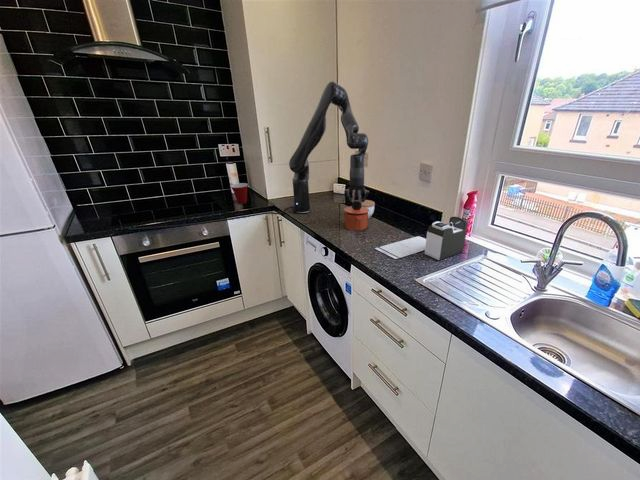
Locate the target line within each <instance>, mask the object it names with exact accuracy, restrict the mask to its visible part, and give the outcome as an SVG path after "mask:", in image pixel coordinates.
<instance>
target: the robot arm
mask: <svg viewBox="0 0 640 480" xmlns="http://www.w3.org/2000/svg"><path fill="white" fill-rule="evenodd" d="M331 104H332V105H334V106H335V107H337V108H338V109H339V111H340V112H341V115H340V122H341V126H342V127H343V130H344V133H345V139H346V145H347V147H348V149H351V150H357V151H356V152H355V153H352V154H351V155H350V157H349V186H348V188H347V189H344V195H345V197H346V199H347V201H348V202H351V206H352V208H353V209H354V201H355V199H356V197H358V200H359V210H360V209H361V203H362V202H364V201H365V200H367V198H368V196H369V194H370V190H367V189H366V187H365V158H366V153H367V149H368V146H369V137H368V135H367V134H366V133H365V132H359V131H360V127H359V123H358V122H357V120H356V118H355V115H354V113H353V110H352V106H351V102H350V98H349V95H348V92H347V90H346V88H344V87H343V86H341V84H338V83H337V82H335V81H329V82H328V83H326V86H325V87H324V88H323V91H322V93H321V97H320V99H319V102H318V105H317V107H316V109H315V111H314V113H313V115H312V117H311V119H310V121H309V123H308V125H307V126H306V128H305V131H304V133H303V135H302V137H301V140H300V141H299V144H298V146H297V148H296V149H295V152H294V153H293V154H292V156H291V157H290V159H289V161H288V167H289V169H290V171H291V172H292V173H294V174H293V177H292V189H293V192H292V193H293V203H291V206H288V207H287V208H285V209H284V210H283V211H282V212H272V211H268V212H267V211H266V212H259V213H253V214H248V215H247V214H246V215H241V216H235V217H229V218H228V217H227V218H221V219H214V220H208V221H207V220H206V221H201V222H200V221H199V222H192V223H191V222H190V223H182V224H171V225H159V226H147V227H144V226H143V227H129V228H127V231H137V230H139V231H140V230H153V229H154V230H155V229H167V228H177V227H179V228H180V227H189V226H196V225H204V224H210V223H211V224H213V223H216V222H224V221H231V220H237V219H244V218H249V217H255V216H262V215H269V214H270V215H283V214H285V212H286V211H288V210H290V209H291V211H294V214H308V213H311V206H310V187H309V179H310V164H309V163H310V162H309V160H308V158H309V156H310V154H311V153H312V152H313V150H314V149H315V148H316V147H317V146H318V144H319V143H320V142H321V140H322V138H323V136H324V135H325V133H326V129H327V113H328V110H329V107H330V105H331ZM350 194H351V195H350ZM363 194H364V196H363V197H362V195H363Z"/></svg>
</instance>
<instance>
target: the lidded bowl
mask: <svg viewBox="0 0 640 480" xmlns="http://www.w3.org/2000/svg"><path fill="white" fill-rule="evenodd" d="M375 206H376V203H375V201H374V200H370V199H366V200H365V201H364V202H362V203H361V207H366V208H368V209H369V212H368V219H370V218H371V217H372V216H373V214H374V212H375Z"/></svg>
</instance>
